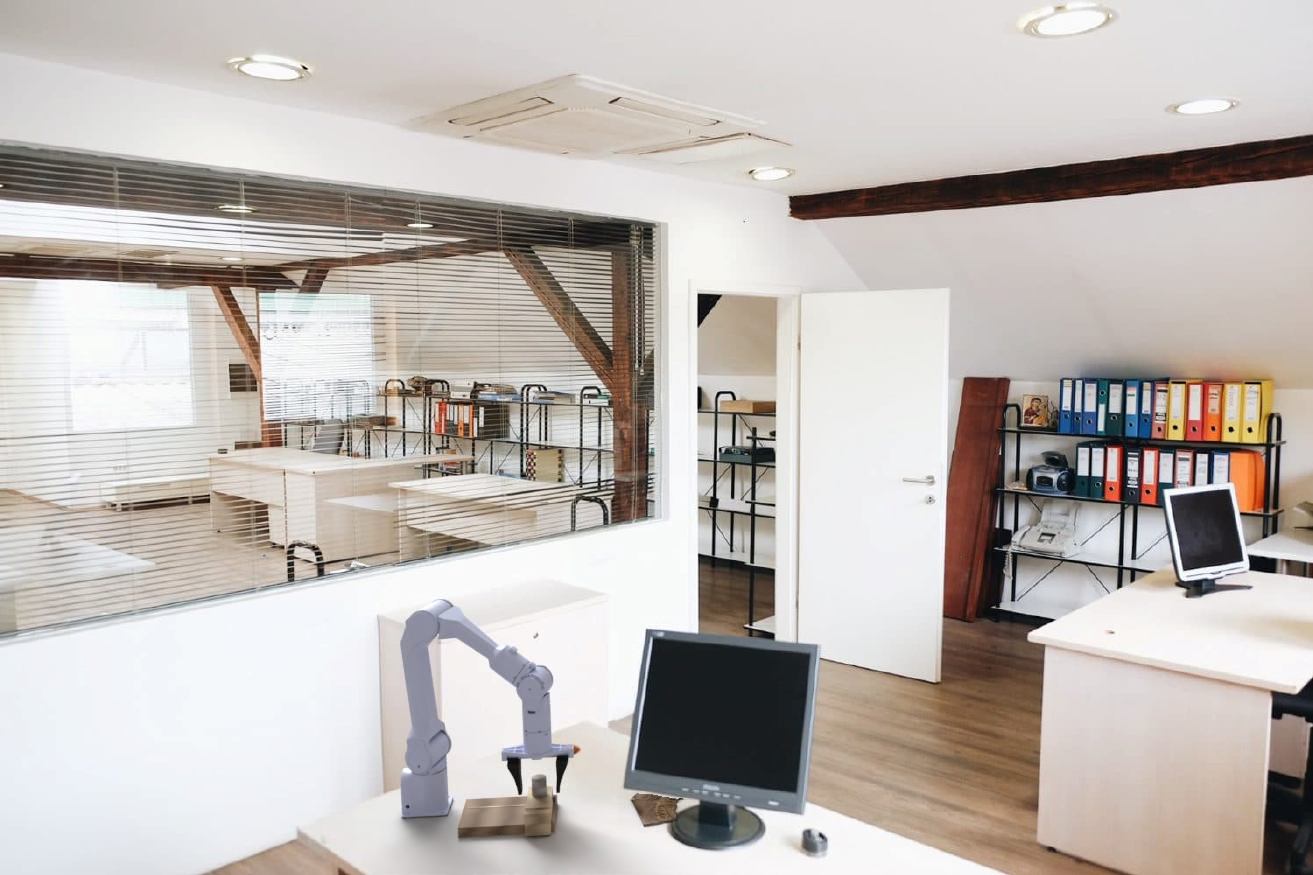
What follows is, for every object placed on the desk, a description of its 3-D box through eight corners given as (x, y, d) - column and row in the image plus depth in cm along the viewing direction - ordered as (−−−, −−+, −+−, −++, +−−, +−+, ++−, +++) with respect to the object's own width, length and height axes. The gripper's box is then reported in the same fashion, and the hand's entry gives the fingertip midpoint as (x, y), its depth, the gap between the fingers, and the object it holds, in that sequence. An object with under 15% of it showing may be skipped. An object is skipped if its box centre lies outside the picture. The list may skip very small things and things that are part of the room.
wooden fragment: (673, 830, 189) (672, 824, 189) (619, 826, 191) (619, 821, 191) (693, 773, 214) (693, 768, 214) (646, 770, 216) (646, 765, 216)
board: (458, 837, 188) (457, 827, 187) (466, 808, 200) (466, 798, 199) (554, 832, 189) (554, 822, 188) (557, 803, 201) (557, 794, 200)
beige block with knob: (525, 835, 186) (523, 796, 186) (529, 807, 198) (527, 770, 197) (553, 834, 187) (552, 795, 186) (556, 806, 198) (555, 769, 197)
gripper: (498, 737, 188) (501, 802, 189) (572, 733, 189) (574, 799, 190) (502, 723, 195) (505, 786, 197) (573, 719, 196) (575, 782, 197)
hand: (539, 791), depth 194 cm, fingers open, 7 cm apart
